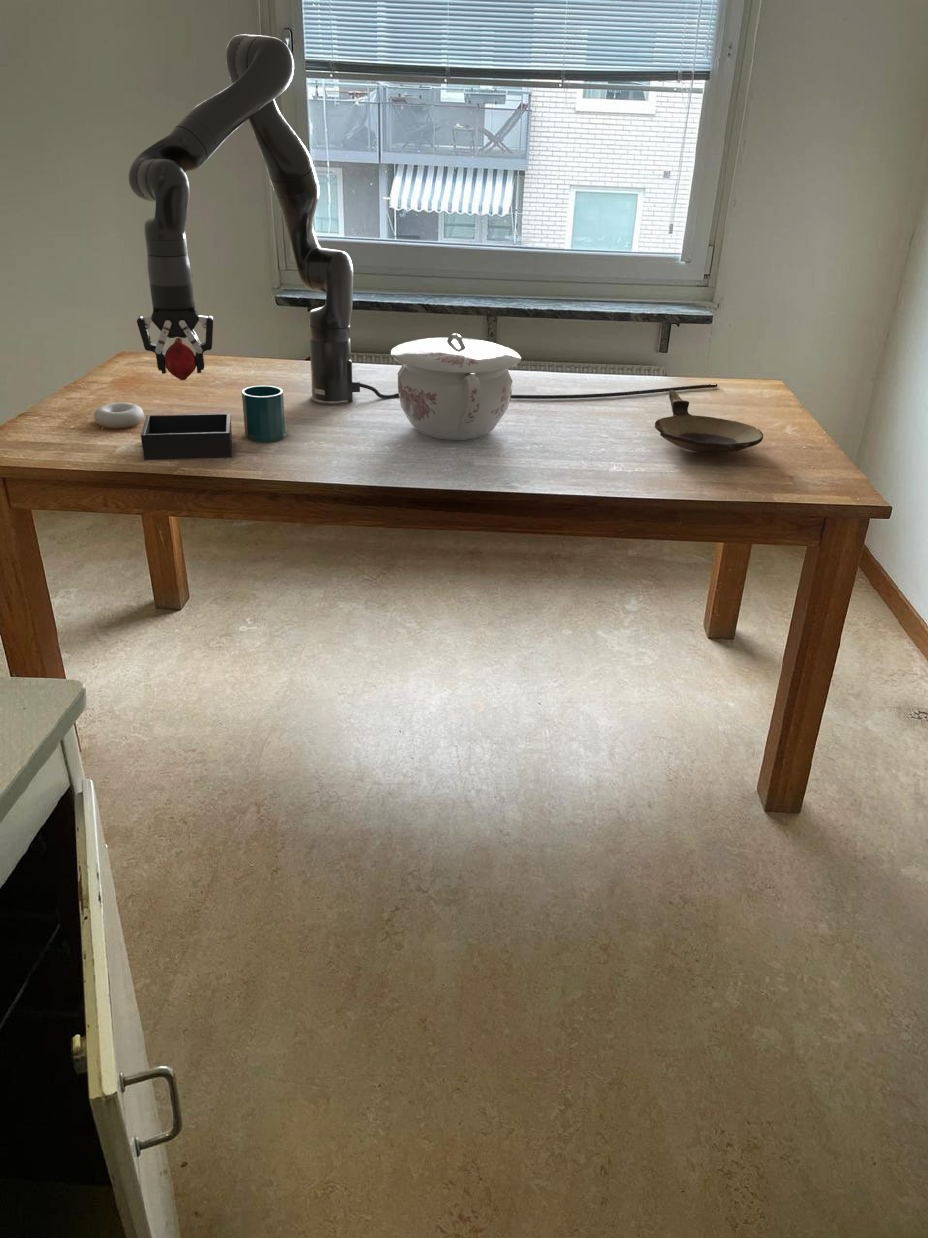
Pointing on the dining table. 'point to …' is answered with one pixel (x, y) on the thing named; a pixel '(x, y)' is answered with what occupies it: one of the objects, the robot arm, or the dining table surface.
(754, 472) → the dining table surface
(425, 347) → the chamber pot
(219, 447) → the black open box
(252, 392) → the cup
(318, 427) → the dining table surface
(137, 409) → the donut
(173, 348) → the onion
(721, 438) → the frying pan
